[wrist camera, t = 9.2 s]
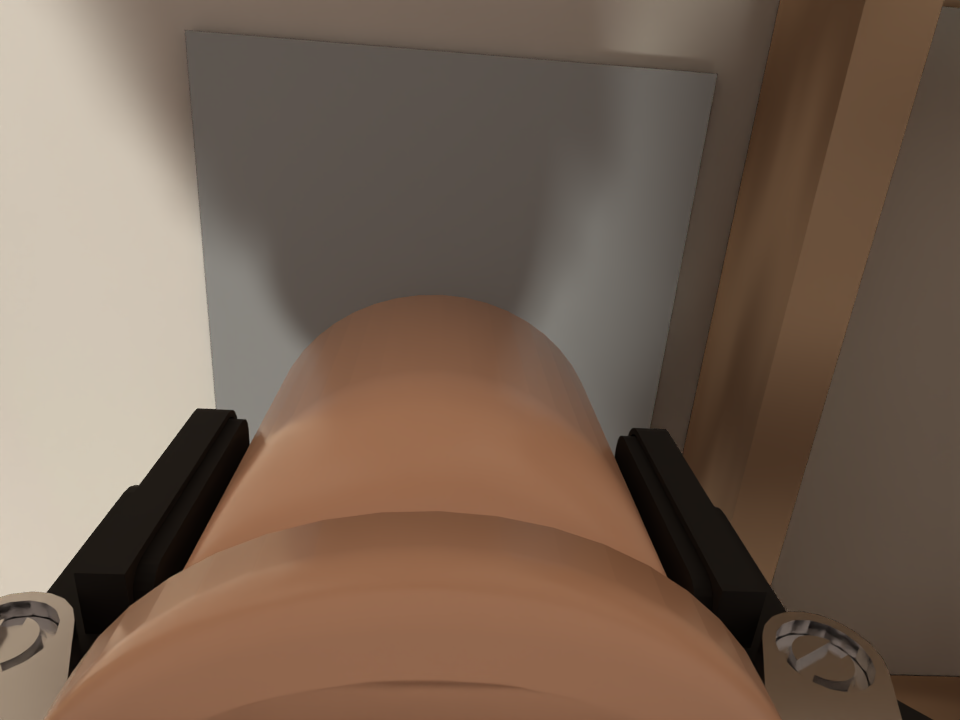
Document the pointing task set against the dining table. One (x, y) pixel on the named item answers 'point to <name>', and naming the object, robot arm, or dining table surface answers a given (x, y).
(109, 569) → the robot arm
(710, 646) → the terracotta pot
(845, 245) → the box
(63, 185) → the dining table surface
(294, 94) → the slate mat
